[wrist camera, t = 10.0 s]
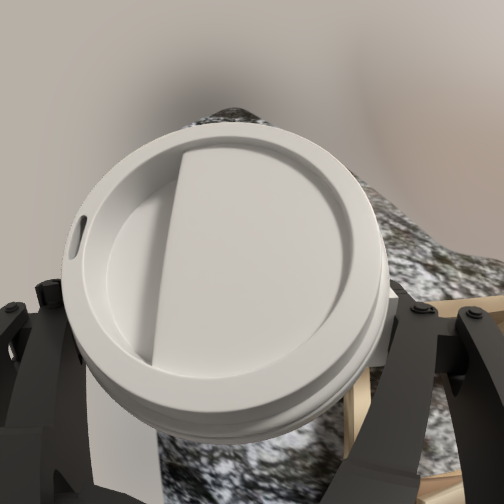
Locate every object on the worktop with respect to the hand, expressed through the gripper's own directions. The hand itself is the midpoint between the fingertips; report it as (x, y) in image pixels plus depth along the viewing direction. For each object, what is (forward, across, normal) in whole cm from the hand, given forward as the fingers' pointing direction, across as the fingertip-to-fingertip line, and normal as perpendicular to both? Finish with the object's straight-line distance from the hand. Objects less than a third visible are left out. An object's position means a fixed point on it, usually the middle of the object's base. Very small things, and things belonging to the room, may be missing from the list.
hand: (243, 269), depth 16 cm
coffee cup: (+2, 0, -7) cm, 7 cm away
